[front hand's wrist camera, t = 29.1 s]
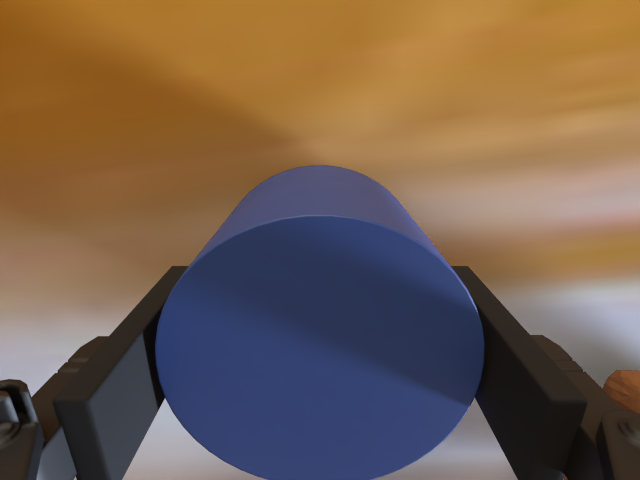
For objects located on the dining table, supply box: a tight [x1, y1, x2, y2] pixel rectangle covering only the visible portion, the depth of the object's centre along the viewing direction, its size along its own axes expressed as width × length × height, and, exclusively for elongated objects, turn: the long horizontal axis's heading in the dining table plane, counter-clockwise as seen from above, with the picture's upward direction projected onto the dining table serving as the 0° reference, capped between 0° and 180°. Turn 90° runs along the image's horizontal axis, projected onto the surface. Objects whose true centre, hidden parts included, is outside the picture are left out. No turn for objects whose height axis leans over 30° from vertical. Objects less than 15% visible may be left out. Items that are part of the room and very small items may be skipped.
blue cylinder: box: [155, 165, 484, 480], centre depth 13 cm, size 9×9×7 cm
